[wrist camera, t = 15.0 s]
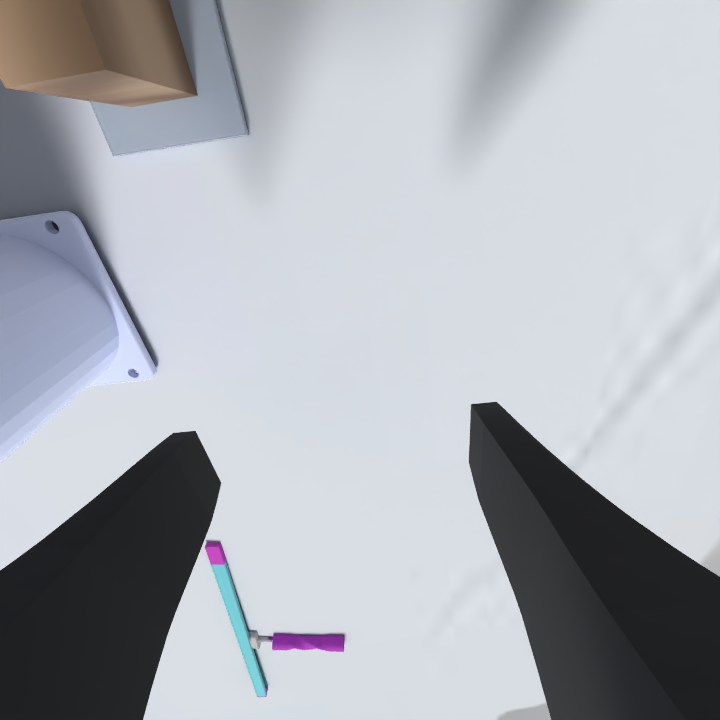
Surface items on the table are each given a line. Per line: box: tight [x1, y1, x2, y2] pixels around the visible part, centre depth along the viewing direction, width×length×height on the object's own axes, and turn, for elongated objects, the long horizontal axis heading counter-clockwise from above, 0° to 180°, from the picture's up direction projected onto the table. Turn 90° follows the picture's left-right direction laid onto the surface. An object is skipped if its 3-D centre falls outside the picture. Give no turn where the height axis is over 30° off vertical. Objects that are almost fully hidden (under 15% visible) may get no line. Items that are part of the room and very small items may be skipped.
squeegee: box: [205, 543, 344, 697], centre depth 34 cm, size 29×2×10 cm
